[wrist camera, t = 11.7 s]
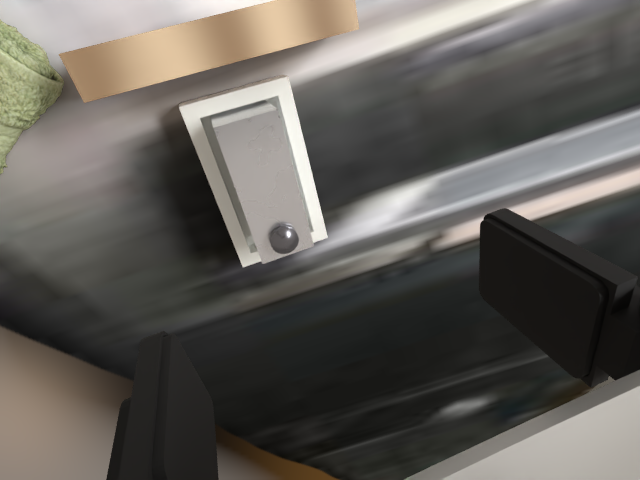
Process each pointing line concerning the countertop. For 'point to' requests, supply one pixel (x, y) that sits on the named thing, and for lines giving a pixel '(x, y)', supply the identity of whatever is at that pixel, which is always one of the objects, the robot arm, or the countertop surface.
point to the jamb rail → (204, 44)
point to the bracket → (216, 167)
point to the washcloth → (23, 86)
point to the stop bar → (263, 178)
